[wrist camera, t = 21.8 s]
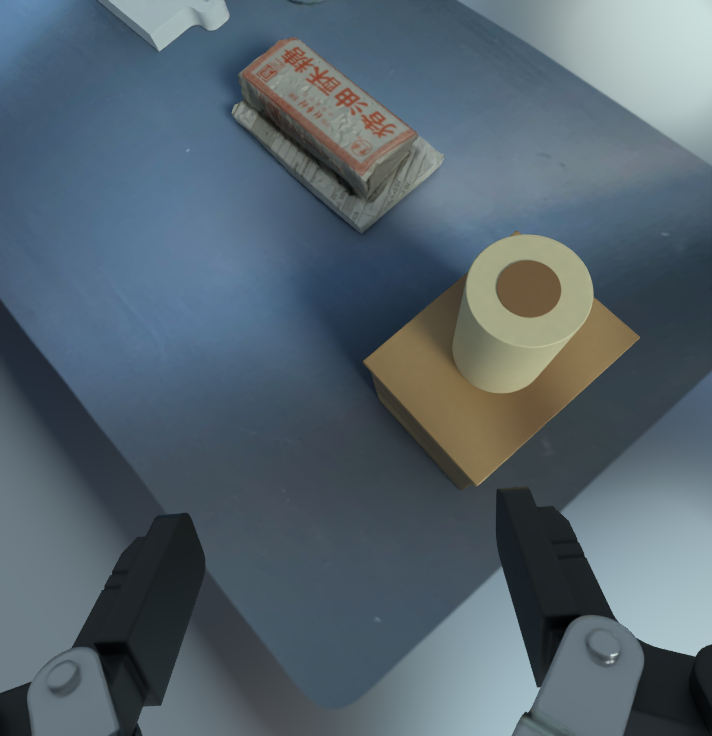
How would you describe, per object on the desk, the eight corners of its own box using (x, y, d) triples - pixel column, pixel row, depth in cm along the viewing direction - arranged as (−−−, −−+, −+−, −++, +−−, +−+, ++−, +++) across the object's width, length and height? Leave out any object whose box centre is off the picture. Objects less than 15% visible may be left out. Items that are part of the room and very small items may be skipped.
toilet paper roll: (464, 402, 28) (483, 358, 21) (442, 317, 30) (452, 247, 22) (557, 383, 28) (612, 332, 20) (530, 298, 30) (572, 221, 22)
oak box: (460, 494, 37) (477, 486, 27) (374, 399, 39) (362, 360, 30) (583, 382, 38) (640, 337, 28) (492, 297, 41) (516, 229, 31)
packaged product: (213, 80, 44) (299, 11, 45) (232, 122, 48) (310, 59, 49) (355, 206, 39) (448, 124, 40) (361, 239, 43) (445, 165, 44)
